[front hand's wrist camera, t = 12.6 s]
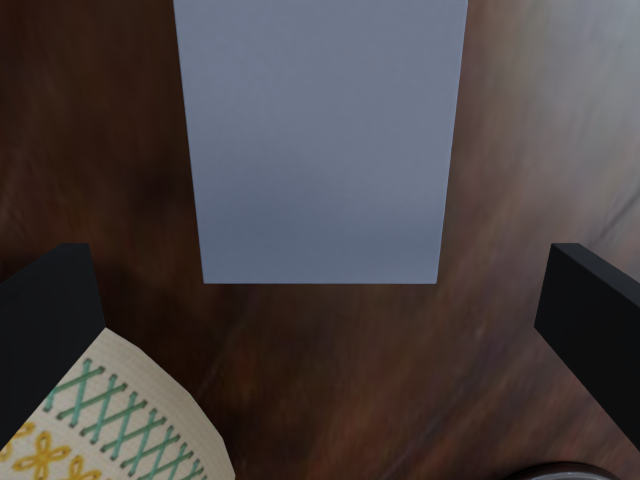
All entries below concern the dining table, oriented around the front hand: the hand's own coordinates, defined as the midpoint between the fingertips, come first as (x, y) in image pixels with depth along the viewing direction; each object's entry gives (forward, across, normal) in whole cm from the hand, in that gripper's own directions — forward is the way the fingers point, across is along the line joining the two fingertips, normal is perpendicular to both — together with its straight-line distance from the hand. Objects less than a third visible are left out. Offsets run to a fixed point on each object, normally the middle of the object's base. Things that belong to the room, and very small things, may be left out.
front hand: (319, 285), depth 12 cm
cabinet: (+17, 0, -6) cm, 18 cm away
